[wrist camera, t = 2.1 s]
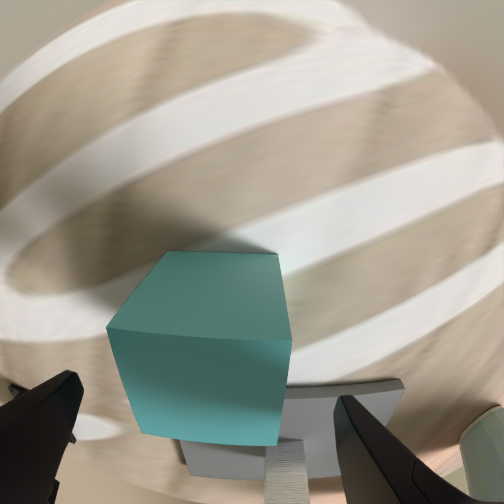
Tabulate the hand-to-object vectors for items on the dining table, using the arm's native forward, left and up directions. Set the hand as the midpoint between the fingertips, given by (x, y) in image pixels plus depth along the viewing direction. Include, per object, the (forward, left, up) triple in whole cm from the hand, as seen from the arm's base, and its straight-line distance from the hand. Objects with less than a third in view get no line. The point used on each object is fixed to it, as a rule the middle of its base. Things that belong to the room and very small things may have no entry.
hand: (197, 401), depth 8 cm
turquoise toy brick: (0, 0, -7) cm, 7 cm away
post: (+4, -12, -6) cm, 14 cm away
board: (+4, -12, -6) cm, 14 cm away
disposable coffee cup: (+27, -17, -7) cm, 33 cm away
